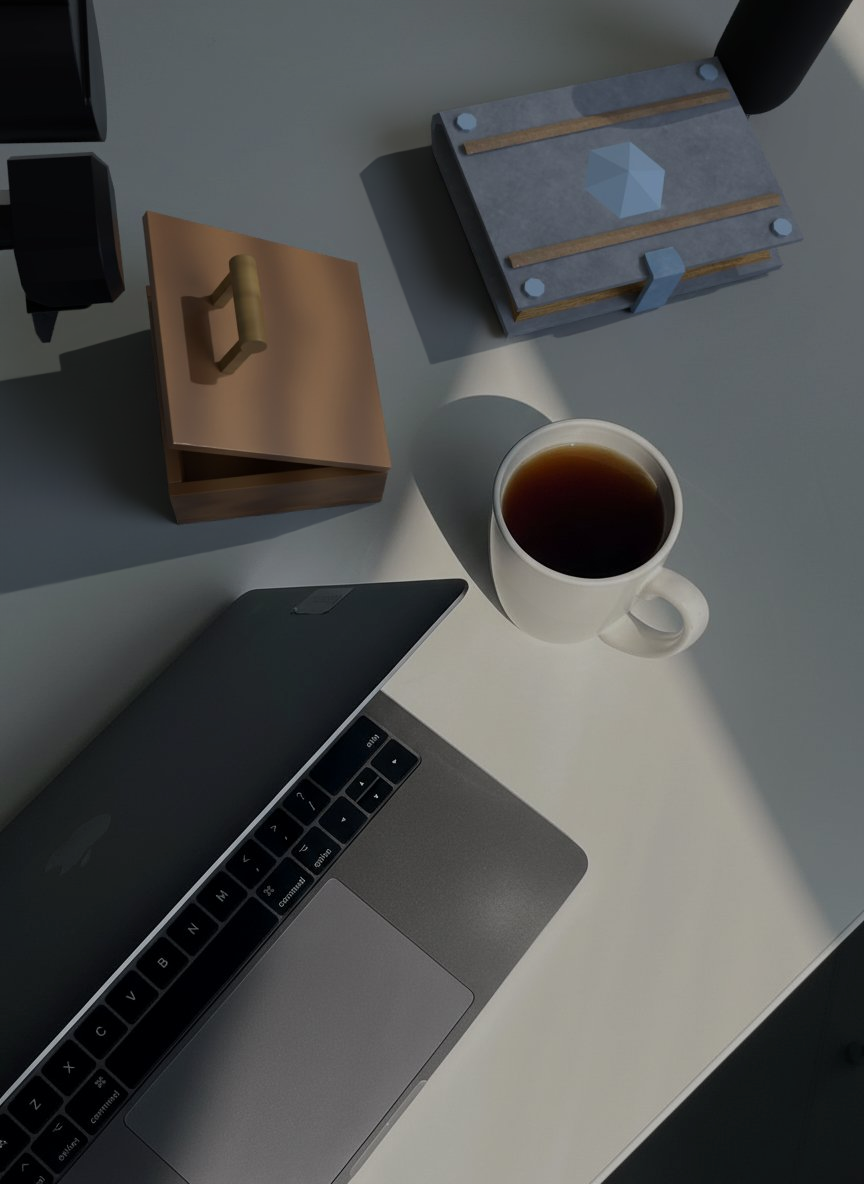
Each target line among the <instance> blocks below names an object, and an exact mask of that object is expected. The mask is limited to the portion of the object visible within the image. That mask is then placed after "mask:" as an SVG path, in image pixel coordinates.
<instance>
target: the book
mask: <svg viewBox="0 0 864 1184" xmlns="http://www.w3.org/2000/svg"><path fill="white" fill-rule="evenodd" d="M430 122H431V123H430V134H431V150H432V154H433V156H434V159H435V161H436V163H437V166H438V169H439V171H440V175H441V177H442V178H443V181H444V183H445V186H446V188H447V192H448V194H449V196H450V199H451V201H452V204H453V206H454V209H455V212H456V214H457V216H458V219H459V222H460V224H461V226H462V229H463V231H464V234H465V237H466V239H467V241H468V244H469V247H470V249H471V252H472V254H473V257H474V260H475V262H476V264H477V267H478V269H479V272H480V275H481V278H482V281H483V282H484V285H485V287H486V289H487V292H488V295H489V297H490V300H491V302H492V305H493V307H494V309H495V312H496V315H497V318H498V320H499V322H500V323H499V324H500V325H501V328H502V330H503V333H504V335H505V338H506V339H510V338H513V337H517V336H521V335H525V334H530V333H533V332H538V331H541V330H545V329H549V328H553V327H557V326H561V325H565V324H569V323H573V322H577V321H581V320H585V319H588V318H592V317H596V316H597V317H598V316H601V315H605V314H608V313H612V312H616V311H621V310H625V309H630V312H631V313H632V314H638V313H642V312H645V311H649V310H653V309H657V308H662V307H664V306H665V304H666V303H667V301H668V300H669V298H671V297H676V296H680V295H683V294H687V293H688V294H689V293H691V292H695V291H700V290H704V289H707V288H711V287H715V286H719V285H722V284H723V285H724V284H728V283H731V282H734V281H739V280H743V279H746V278H752V277H755V276H758V275H762V274H767V273H770V272H774V271H778V270H780V269H781V268H782V267H783V266H784V262H783V260H782V258H781V255H780V253H779V251H778V250H777V248H780V247H784V246H788V245H789V246H790V245H792V244H796V243H801V242H802V241H803V240H804V239H805V236H804V234H803V232H802V230H801V227H800V226H799V223H798V221H797V219H796V217H795V215H794V213H793V211H792V209H791V207H790V205H789V203H788V201H787V198H786V197H785V194H784V193H783V190H782V188H781V187H780V186H781V185H780V184H779V182H778V180H777V178H776V175H775V173H774V172H773V170H772V167H771V166H770V162H769V161H768V159H767V157H766V155H765V153H764V151H763V149H762V147H761V144H760V143H759V141H758V138H757V136H756V134H755V132H754V130H753V128H752V126H751V124H750V122H749V120H748V118H747V115H746V114H745V113H744V111H743V109H742V107H741V105H740V103H739V101H738V99H737V97H736V95H735V93H734V90H733V88H732V86H731V84H730V82H729V80H728V78H727V76H726V74H725V72H724V70H723V68H722V66H721V63H720V61H719V59H718V57H717V56H716V57H713V56H712V57H707V58H701V59H696V60H692V61H687V62H682V63H677V64H672V65H671V64H670V65H666V66H663V67H657V68H652V69H647V70H643V71H637V72H632V73H627V74H622V75H618V76H612V77H607V78H603V79H598V80H593V81H589V82H588V81H587V82H583V83H578V84H573V85H568V86H563V87H557V88H553V89H547V90H543V91H538V92H533V93H527V94H523V95H518V96H515V97H514V96H512V97H508V98H503V99H499V100H493V101H488V102H484V103H478V104H473V105H469V106H463V107H458V108H454V109H448V110H443V111H439V112H436V113H435V114H434V113H433V114H432V116H431V121H430Z"/></svg>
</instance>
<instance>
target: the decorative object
mask: <svg viewBox="0 0 864 1184" xmlns="http://www.w3.org/2000/svg"><path fill="white" fill-rule="evenodd" d="M853 1H854V0H738V2H737V4H736V6H735V8H734V10H733V12H732V14H731V16H730V18H729V20H728V23H727V24H726V26H725V28H724V30H723V32H722V34H721V36H720V38H719V39H718V42H717V44H716V46H715V49H714V52H713V56H712V57H716V56H717V57H718V59H719V61H720V63H721V66H722V68H723V70H724V72H725V74H726V76H727V78H728V80H729V82H730V84H731V86H732V88H733V90H734V93H735V95H736V97H737V99H738V101H739V103H740V105H741V107H742V109H743V111H744V113H745V115H746V116H754V115H755V116H756V115H762V114H765V113H768V112H770V111H772V110H774V109H776V108H778V107H780V106H781V105H782V104H784V103H785V102H786V101H787V100H789V99H790V98H791V97H792V95H793V94H794V93H796V91H797V89H798V88H799V86H800V85H801V83H802V82H803V80H804V79H805V77H806V76H807V74H808V72H809V71H810V69H811V68H812V66H813V65H814V63H815V61H816V59H817V58H818V57H819V55H820V53H821V52H822V51H823V49H824V48H825V45H826V44H827V42H828V41H829V39H830V37H831V36H832V35H833V32H834V31H835V30H836V28H837V26H838V25H839V23H840V22H841V20H842V18H843V17H844V15H845V14H846V13H847V10H848V9H849V8H850V6H851V4H852V3H853Z"/></svg>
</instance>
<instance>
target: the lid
mask: <svg viewBox="0 0 864 1184" xmlns="http://www.w3.org/2000/svg"><path fill="white" fill-rule="evenodd" d="M141 219H142V228H143V238H144V247H145V257H146V265H147V273H148V284H149V285H150V292H151V301H152V310H153V319H154V328H155V337H156V346H157V355H158V364H159V373H160V382H161V391H162V400H163V409H164V417H165V426H166V435H167V444H168V449H175V450H184V451H194V452H203V453H212V454H222V455H231V456H240V457H250V458H259V459H269V460H278V461H287V462H297V463H306V464H315V465H325V466H334V467H343V468H353V469H362V470H371V471H381V472H386V471H388V472H389V470H391V469H392V468H393V465H392V460H391V454H390V448H389V442H388V437H387V431H386V425H385V418H384V413H383V407H382V402H381V395H380V389H379V384H378V377H377V372H376V365H375V360H374V354H373V349H372V343H371V336H370V330H369V324H368V319H367V313H366V307H365V301H364V295H363V290H362V289H363V288H362V284H361V283H362V282H361V277H360V272H359V266H358V263H357V262H355V261H351V260H347V259H344V258H339V257H335V256H331V255H327V254H323V253H319V252H315V251H311V250H307V249H302V248H299V247H295V246H291V245H287V244H283V243H279V242H275V241H270V240H267V239H263V238H260V237H259V238H258V237H256V236H251V235H247V234H243V233H240V232H235V231H231V230H227V229H222V228H219V227H215V226H211V225H208V224H207V225H206V224H203V223H199V222H194V221H192V220H187V219H184V218H180V217H174V216H171V215H167V214H163V213H159V212H155V211H151V210H146V211H145V212H144V214H143V215H142V217H141Z"/></svg>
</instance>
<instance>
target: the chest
mask: <svg viewBox="0 0 864 1184" xmlns="http://www.w3.org/2000/svg"><path fill="white" fill-rule="evenodd" d="M145 293H146V298H147V309H148V317H149V318H148V319H149V327H150V328H149V329H150V336H151V345H152V346H151V347H152V355H153V363H154V373H155V381H156V391H157V399H158V408H159V418H160V426H161V427H160V428H161V435H162V444H163V454H164V462H165V472H166V481H167V484H168V485H167V488H168V489H167V490H168V497H169V500H170V503H171V506H172V510H173V513H174V516H175V519H176V522H177V524H178V525H187V524H196V523H197V524H198V523H204V522H214V521H221V520H230V519H231V520H232V519H239V518H241V519H242V518H248V517H257V516H258V517H259V516H265V515H267V516H268V515H273V514H274V515H275V514H283V513H292V512H300V511H309V510H319V509H327V508H328V509H329V508H335V507H344V506H353V505H355V506H356V505H361V504H363V505H364V504H371V503H379V502H381V503H382V501H383V496H384V492H385V489H386V488H385V487H386V483H387V479H388V475H389V470H388V471H386V472H381V471H371V470H362V469H353V468H343V467H334V466H325V465H315V464H306V463H297V462H287V461H278V460H269V459H259V458H250V457H240V456H231V455H222V454H212V453H203V452H194V451H184V450H175V449H168V444H167V435H166V426H165V417H164V409H163V400H162V391H161V382H160V373H159V364H158V355H157V346H156V337H155V328H154V319H153V310H152V301H151V292H150V284H148V285H147V284H146V285H145Z"/></svg>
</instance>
